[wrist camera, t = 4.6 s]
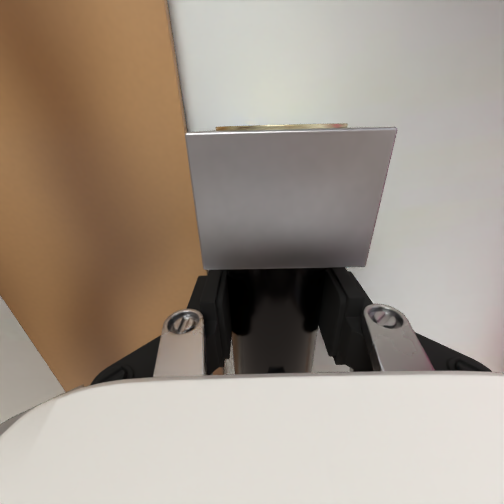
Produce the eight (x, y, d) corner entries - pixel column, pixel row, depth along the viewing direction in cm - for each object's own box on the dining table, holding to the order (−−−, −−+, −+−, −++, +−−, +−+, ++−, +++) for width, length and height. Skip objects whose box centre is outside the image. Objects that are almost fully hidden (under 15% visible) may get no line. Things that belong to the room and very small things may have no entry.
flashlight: (305, 352, 15) (326, 436, 11) (233, 353, 15) (226, 437, 11) (333, 124, 9) (400, 121, 5) (213, 127, 9) (182, 126, 5)
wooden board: (77, 399, 17) (74, 405, 17) (-208, -38, 7) (-232, -47, 7) (227, 395, 17) (227, 401, 17) (158, -62, 7) (153, -73, 6)
